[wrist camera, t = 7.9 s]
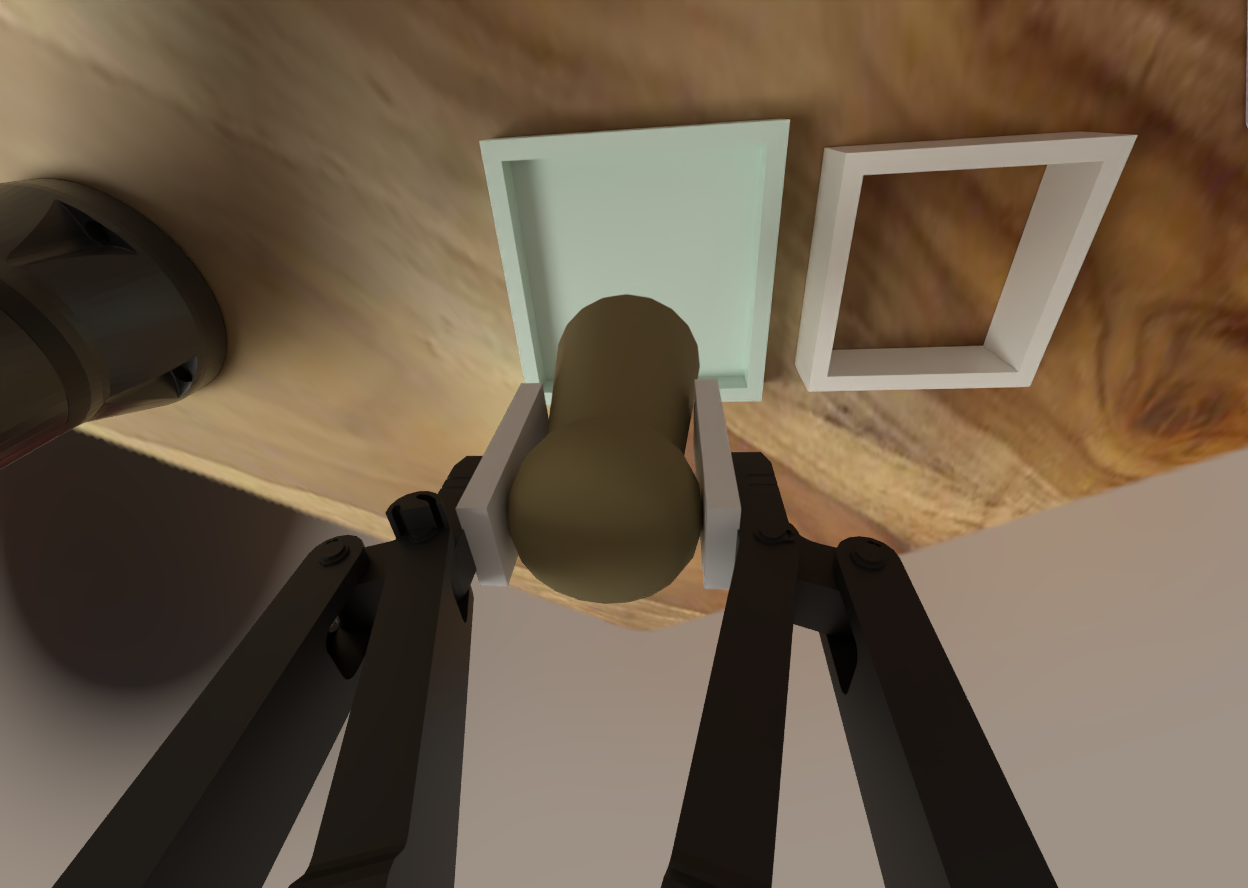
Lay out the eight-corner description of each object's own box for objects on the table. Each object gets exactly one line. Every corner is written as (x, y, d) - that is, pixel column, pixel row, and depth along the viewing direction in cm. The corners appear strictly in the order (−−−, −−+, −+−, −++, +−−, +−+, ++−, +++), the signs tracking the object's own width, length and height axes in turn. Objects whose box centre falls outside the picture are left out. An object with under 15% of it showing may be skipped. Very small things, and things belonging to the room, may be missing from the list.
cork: (715, 407, 22) (749, 618, 13) (587, 439, 24) (537, 651, 14) (677, 273, 19) (687, 427, 10) (533, 320, 20) (426, 492, 11)
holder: (794, 364, 35) (808, 391, 32) (824, 147, 28) (846, 153, 24) (993, 359, 34) (1029, 386, 30) (1078, 131, 27) (1137, 135, 23)
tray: (536, 389, 37) (529, 405, 35) (492, 138, 29) (478, 140, 27) (756, 384, 36) (761, 400, 34) (780, 118, 27) (790, 119, 25)
